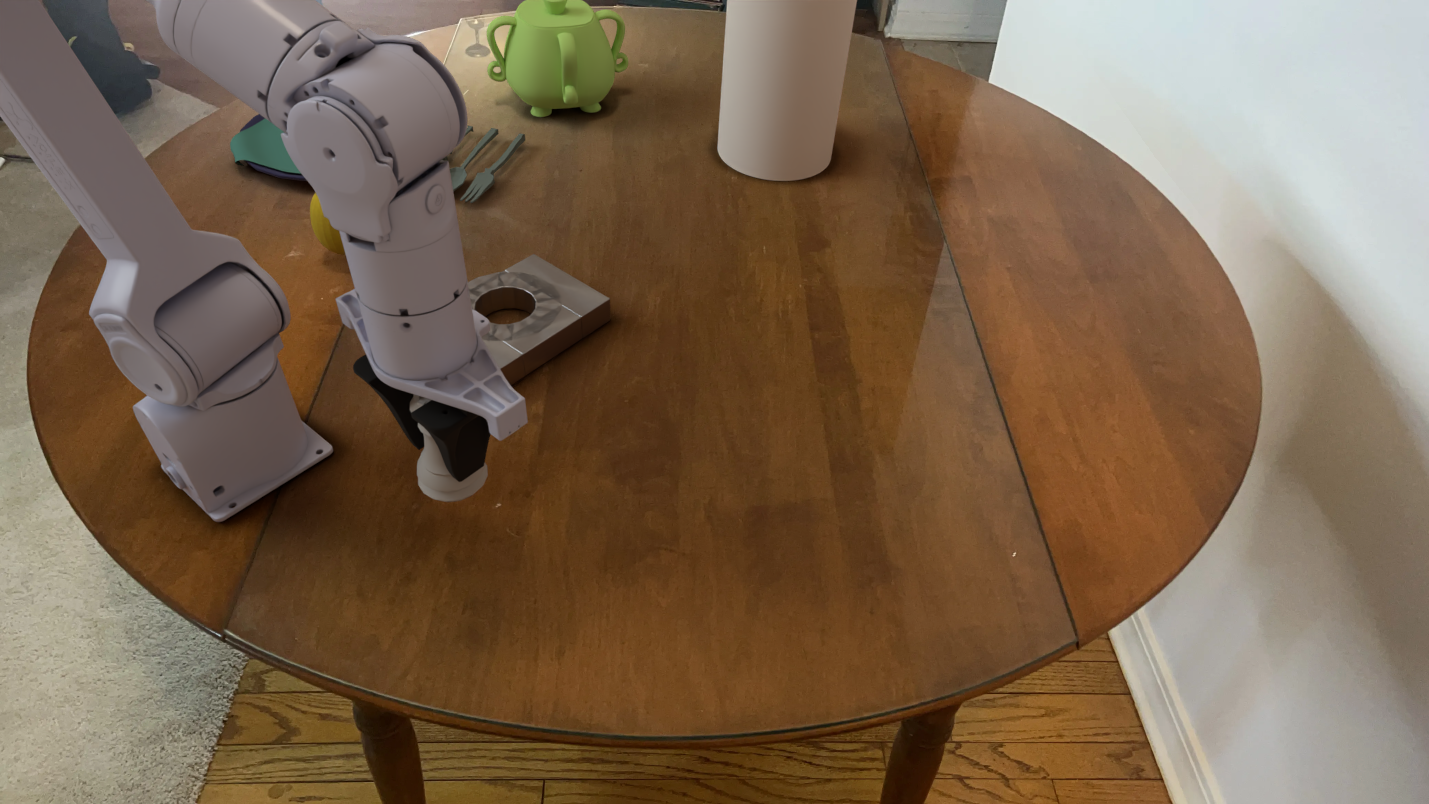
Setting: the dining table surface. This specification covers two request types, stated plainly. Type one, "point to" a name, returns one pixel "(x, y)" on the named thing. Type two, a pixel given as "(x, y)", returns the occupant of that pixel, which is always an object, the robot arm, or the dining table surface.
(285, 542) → the dining table surface
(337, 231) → the lemon
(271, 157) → the cutlery set
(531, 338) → the stand
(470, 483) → the rook chess piece
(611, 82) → the teapot
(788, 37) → the canister
